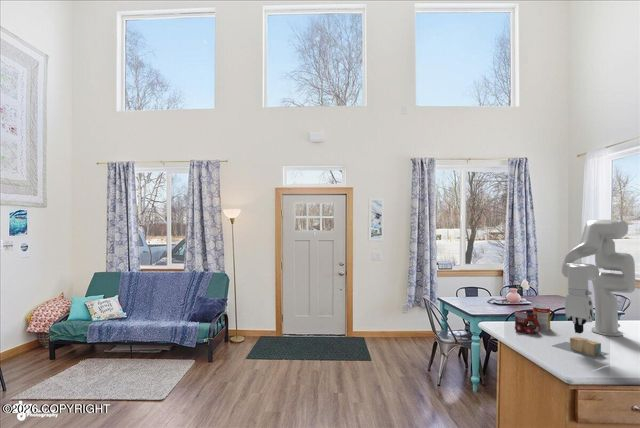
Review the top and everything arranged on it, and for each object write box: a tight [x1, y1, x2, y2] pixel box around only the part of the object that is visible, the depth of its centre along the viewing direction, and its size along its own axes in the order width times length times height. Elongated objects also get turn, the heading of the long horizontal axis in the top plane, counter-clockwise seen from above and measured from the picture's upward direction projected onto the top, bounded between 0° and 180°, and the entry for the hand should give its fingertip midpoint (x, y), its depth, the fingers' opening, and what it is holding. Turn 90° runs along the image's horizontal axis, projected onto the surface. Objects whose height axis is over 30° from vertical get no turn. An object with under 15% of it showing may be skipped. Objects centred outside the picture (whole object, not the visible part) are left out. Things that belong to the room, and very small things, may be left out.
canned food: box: [532, 304, 551, 332], centre depth 197 cm, size 8×8×12 cm
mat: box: [551, 341, 609, 359], centre depth 164 cm, size 12×18×1 cm, turn 27°
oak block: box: [569, 335, 602, 356], centre depth 162 cm, size 5×5×10 cm
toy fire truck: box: [514, 310, 541, 335], centre depth 191 cm, size 7×12×10 cm, turn 37°
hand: (578, 332), depth 164 cm, fingers closed
